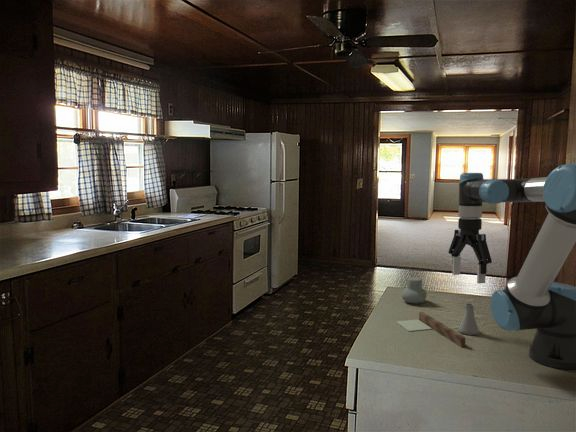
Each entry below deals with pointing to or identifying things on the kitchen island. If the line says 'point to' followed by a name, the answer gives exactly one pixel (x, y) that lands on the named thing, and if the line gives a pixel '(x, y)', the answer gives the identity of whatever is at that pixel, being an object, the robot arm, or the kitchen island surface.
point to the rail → (442, 329)
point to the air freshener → (414, 291)
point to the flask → (469, 321)
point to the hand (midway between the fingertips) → (468, 278)
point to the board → (413, 325)
